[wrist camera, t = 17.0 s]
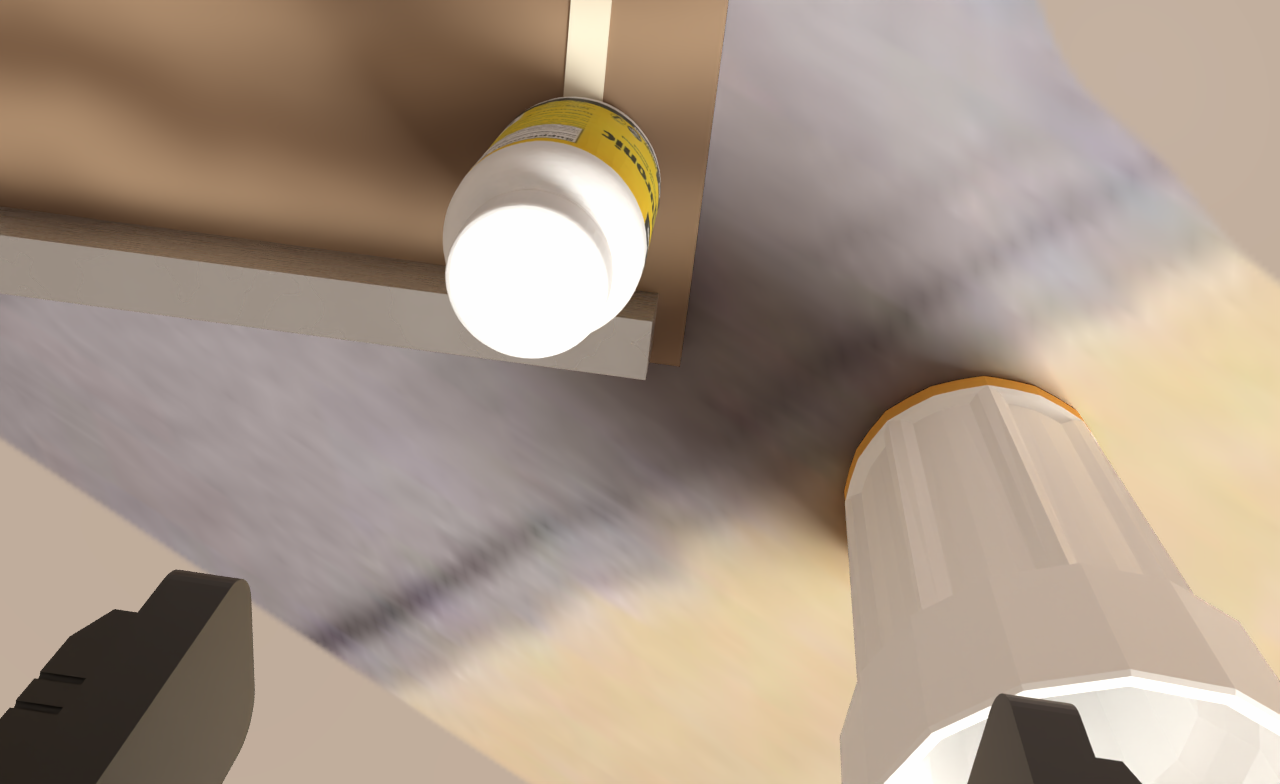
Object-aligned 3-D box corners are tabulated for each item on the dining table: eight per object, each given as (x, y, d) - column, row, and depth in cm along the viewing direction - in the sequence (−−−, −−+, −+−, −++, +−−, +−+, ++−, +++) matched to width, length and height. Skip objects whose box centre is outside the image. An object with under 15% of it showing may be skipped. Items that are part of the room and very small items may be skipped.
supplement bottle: (676, 248, 38) (653, 375, 29) (512, 270, 39) (441, 400, 30) (648, 78, 36) (613, 159, 27) (475, 105, 37) (386, 192, 28)
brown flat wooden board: (-176, -193, 36) (-215, -194, 35) (739, -83, 35) (738, -79, 34) (-101, 244, 42) (-131, 259, 41) (682, 349, 41) (679, 367, 40)
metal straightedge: (-113, 191, 40) (-165, 213, 37) (658, 293, 39) (652, 321, 37) (-103, 248, 41) (-154, 272, 38) (651, 349, 40) (645, 380, 37)
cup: (896, 298, 40) (987, 602, 24) (1201, 414, 41) (1481, 781, 25) (765, 560, 45) (770, 955, 29) (1040, 659, 45) (1189, 1096, 30)
